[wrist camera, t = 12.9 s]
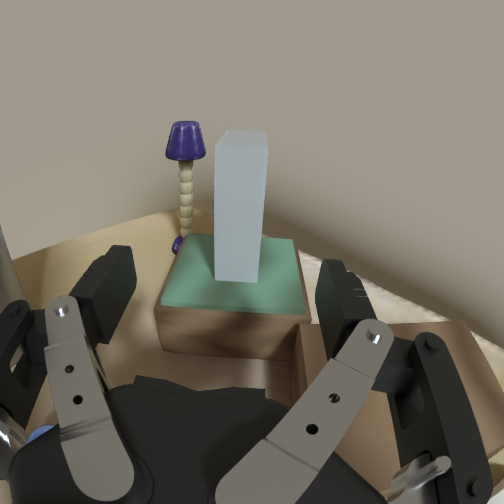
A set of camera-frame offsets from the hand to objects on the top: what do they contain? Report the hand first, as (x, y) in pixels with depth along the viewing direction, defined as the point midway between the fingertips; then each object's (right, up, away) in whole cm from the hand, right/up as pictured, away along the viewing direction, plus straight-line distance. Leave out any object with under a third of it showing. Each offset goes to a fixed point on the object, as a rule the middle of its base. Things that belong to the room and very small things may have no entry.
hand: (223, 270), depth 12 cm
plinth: (0, -5, +17) cm, 18 cm away
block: (0, +1, +16) cm, 16 cm away
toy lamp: (-7, +1, +27) cm, 28 cm away
